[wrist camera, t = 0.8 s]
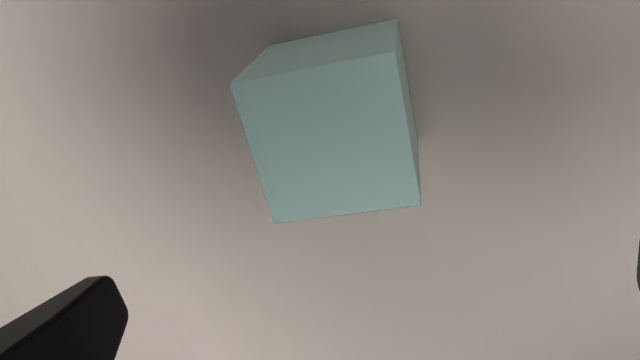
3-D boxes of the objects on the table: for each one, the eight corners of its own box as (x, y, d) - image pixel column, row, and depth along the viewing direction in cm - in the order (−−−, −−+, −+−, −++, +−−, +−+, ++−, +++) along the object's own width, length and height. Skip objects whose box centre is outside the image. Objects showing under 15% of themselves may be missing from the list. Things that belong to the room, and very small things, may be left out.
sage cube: (417, 142, 21) (421, 205, 16) (300, 160, 22) (273, 223, 17) (397, 17, 18) (395, 51, 14) (268, 45, 20) (229, 84, 15)
